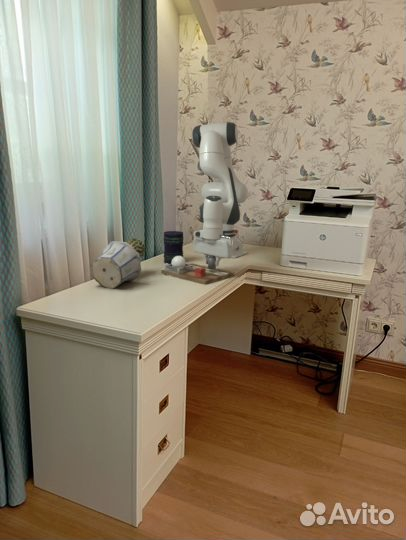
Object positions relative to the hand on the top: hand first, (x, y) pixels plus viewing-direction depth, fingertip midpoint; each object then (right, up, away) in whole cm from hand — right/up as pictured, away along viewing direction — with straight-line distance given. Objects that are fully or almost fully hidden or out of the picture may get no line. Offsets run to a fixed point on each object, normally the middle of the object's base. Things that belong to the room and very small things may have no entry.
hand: (212, 264), depth 189 cm
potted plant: (-37, -7, -10) cm, 39 cm away
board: (-6, -4, +1) cm, 8 cm away
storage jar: (-19, +2, +25) cm, 32 cm away
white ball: (-15, -2, +2) cm, 15 cm away
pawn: (0, -2, 0) cm, 2 cm away
